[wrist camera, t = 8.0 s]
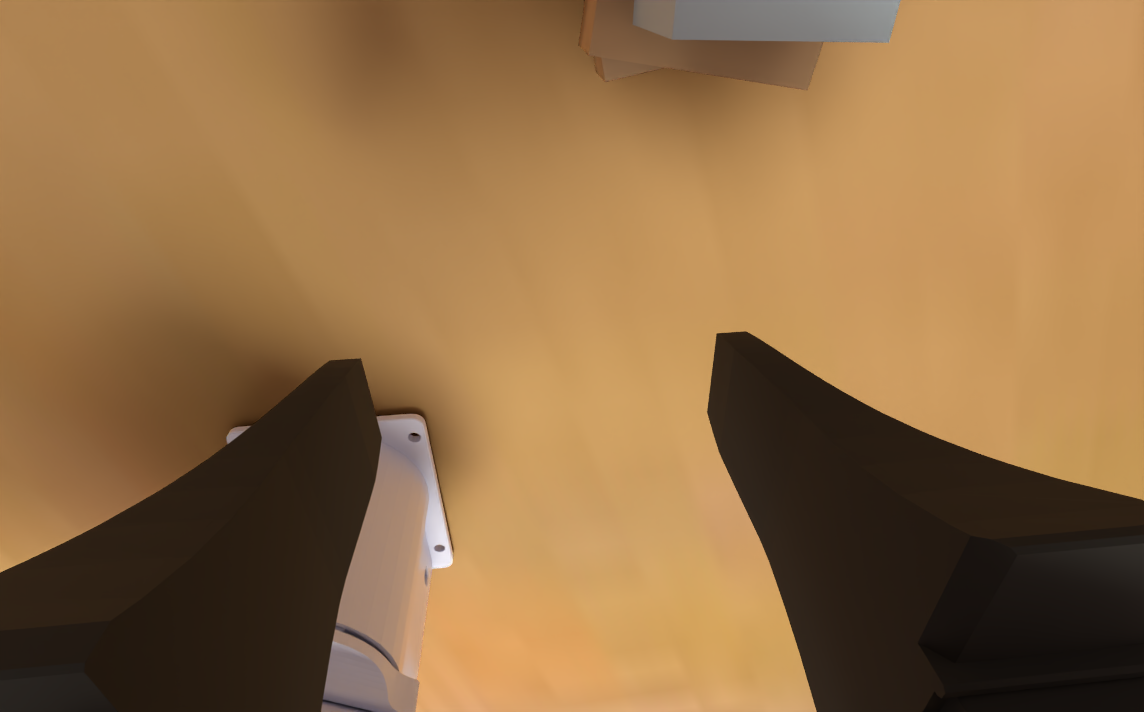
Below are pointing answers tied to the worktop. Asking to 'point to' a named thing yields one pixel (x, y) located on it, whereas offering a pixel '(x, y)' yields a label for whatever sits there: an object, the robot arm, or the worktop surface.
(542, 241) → the worktop surface
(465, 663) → the worktop surface
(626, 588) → the worktop surface
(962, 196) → the worktop surface
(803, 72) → the slab top
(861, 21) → the gray cube
